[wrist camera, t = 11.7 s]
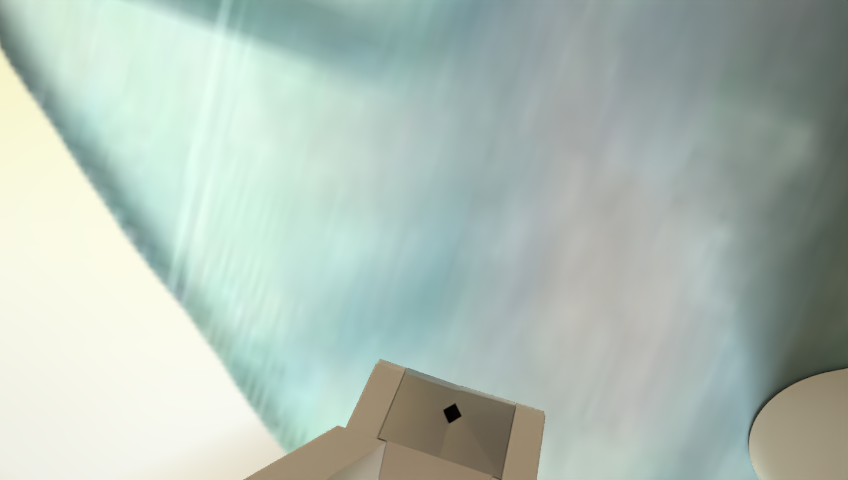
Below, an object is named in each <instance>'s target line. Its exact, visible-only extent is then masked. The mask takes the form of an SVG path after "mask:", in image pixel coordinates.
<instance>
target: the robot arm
mask: <svg viewBox="0 0 848 480" xmlns="http://www.w3.org/2000/svg"><path fill="white" fill-rule="evenodd" d="M544 423H545V414H544V411H541V410H537V409H534V408H531V407H528V406H525V405H521V404H518V403H516V404H515V402H512V401H509V400H506V399H502V398H499V397H496V396H493V395H489V394H486V393H483V392H480V391H476V390H473V389H470V388H467V387H464V386H458V385H456V384H453V383H450V382H447V381H444V380H441V379H438V378H435V377H432V376H430V375H427V374H424V373H421V372H418V371H415V370H412V369H409V368H405V367H402V366H399V365H396V364H393V363H391V362H388V361H385V360H382V359H380V360H379V361H378V363H377V364H376V365H375V367H374V369H373V371H372V373H371V375H370V378H369V380H368V382H367V384H366V386H365V388H364V390H363V392H362V394H361V397H360V399H359V401H358V403H357V405H356V407H355V409H354V411H353V413H352V415H351V418H350V420H349V422H348V424H347V426H346V428H344V427H341V426H336V427H334V428H332V429H331V430H329V431H327V432H326V433H324V434H322V435H320V436H319V437H317V438H315V439H313V440H312V441H310V442H308V443H306V444H305V445H303V446H301V447H299V448H298V449H296V450H294V451H293V452H291V453H289V454H287V455H286V456H284V457H282V458H281V459H279V460H277V461H275V462H274V463H272V464H270V465H268V466H267V467H265V468H263V469H261V470H260V471H258V472H256V473H254V474H253V475H251V476H249V477H247V478H246V479H244V480H537V473H538V466H539V458H540V451H541V444H542V437H543V430H544ZM749 454H750V459H751V463H752V466H753V468H754V470H755V472H756V474H757V476H758V477H759V479H760V480H848V368H846V369H842V370H836V371H831V372H826V373H822V374H818V375H815V376H812V377H809V378H807V379H804V380H802V381H799V382H797V383H795V384H793V385H791V386H789V387H788V388H786V389H784V390H783V391H781V392H780V393H779V394H777V395H776V396H775V397H774V398H772V399H771V400H770V401H769V402H768V403H767V404H766V406H765V407H764V408H763V409H762V410H761V412H760V413H759V415H758V416H757V418H756V420H755V422H754V424H753V427H752V429H751V433H750V438H749Z"/></svg>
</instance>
